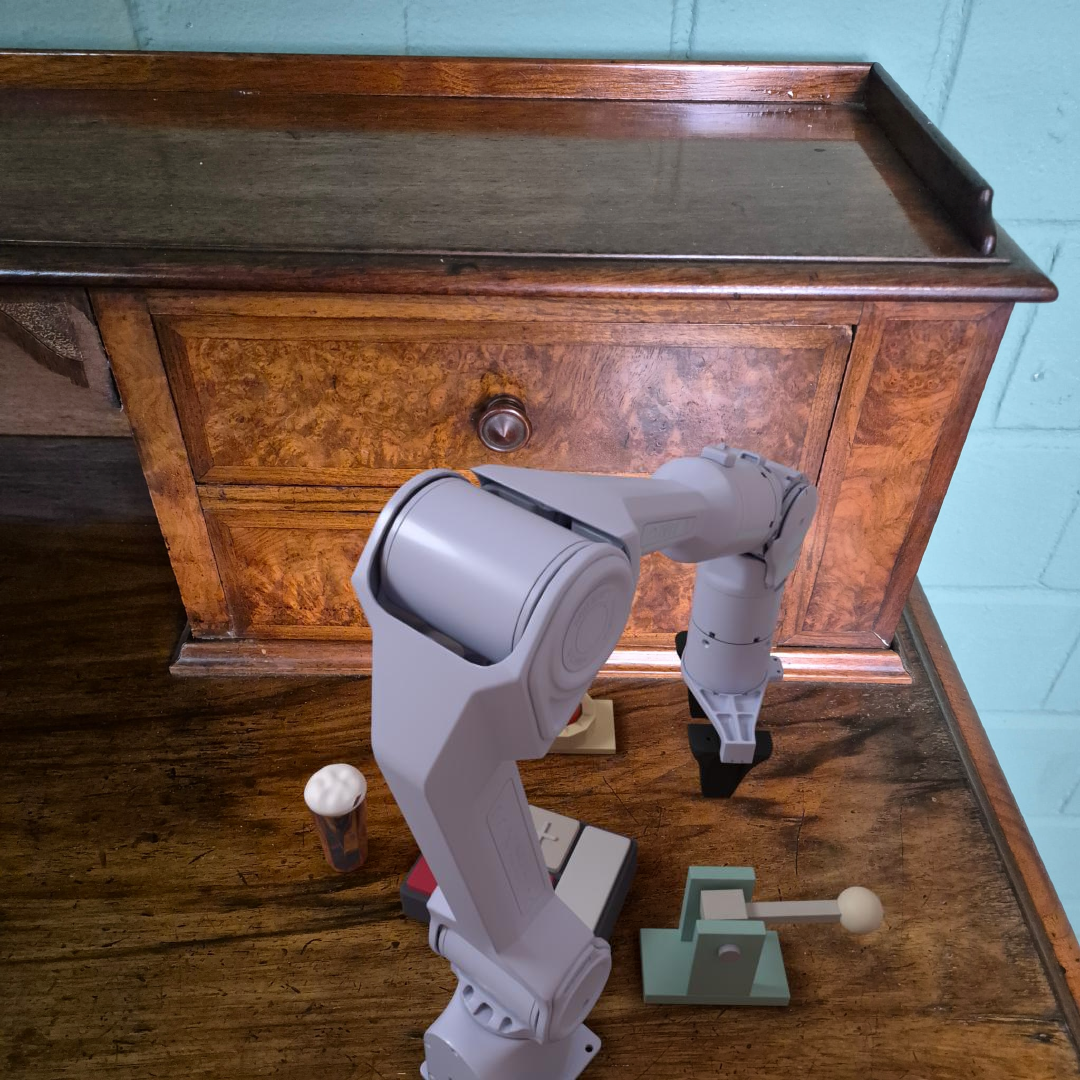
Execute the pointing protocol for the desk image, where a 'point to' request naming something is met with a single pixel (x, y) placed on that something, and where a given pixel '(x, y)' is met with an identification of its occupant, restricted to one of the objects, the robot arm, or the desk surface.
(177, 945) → the desk surface
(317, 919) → the desk surface
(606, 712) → the button box
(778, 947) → the bracket
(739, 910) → the lever
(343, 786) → the milkshake
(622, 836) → the calculator
